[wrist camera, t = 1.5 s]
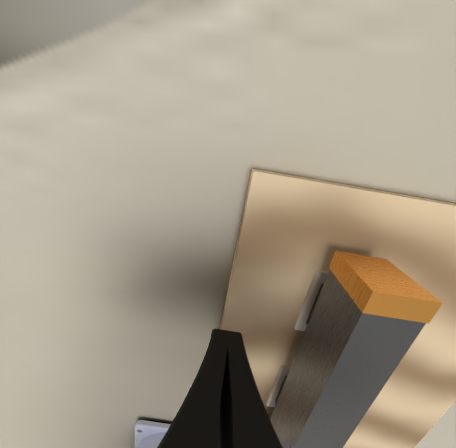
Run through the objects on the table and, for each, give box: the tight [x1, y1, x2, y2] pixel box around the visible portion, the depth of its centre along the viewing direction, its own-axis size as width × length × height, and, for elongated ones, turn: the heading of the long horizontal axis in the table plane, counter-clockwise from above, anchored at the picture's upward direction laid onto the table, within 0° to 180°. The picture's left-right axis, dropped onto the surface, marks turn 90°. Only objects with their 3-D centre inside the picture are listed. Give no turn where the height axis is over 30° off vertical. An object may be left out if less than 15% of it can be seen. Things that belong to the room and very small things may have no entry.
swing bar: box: [270, 251, 443, 448], centre depth 12 cm, size 19×3×3 cm, turn 171°
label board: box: [220, 168, 456, 448], centre depth 15 cm, size 22×18×2 cm
